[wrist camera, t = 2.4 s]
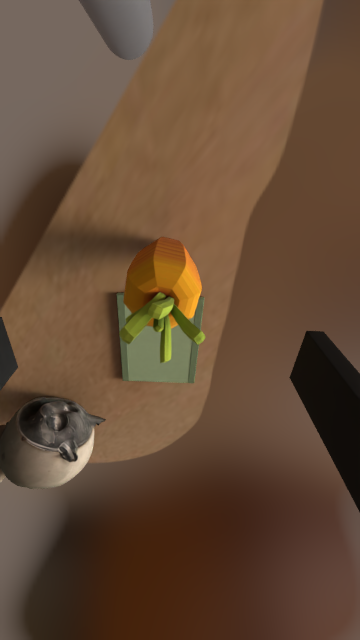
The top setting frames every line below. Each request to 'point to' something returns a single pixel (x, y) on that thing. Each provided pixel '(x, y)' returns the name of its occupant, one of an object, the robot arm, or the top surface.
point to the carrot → (162, 293)
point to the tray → (158, 351)
